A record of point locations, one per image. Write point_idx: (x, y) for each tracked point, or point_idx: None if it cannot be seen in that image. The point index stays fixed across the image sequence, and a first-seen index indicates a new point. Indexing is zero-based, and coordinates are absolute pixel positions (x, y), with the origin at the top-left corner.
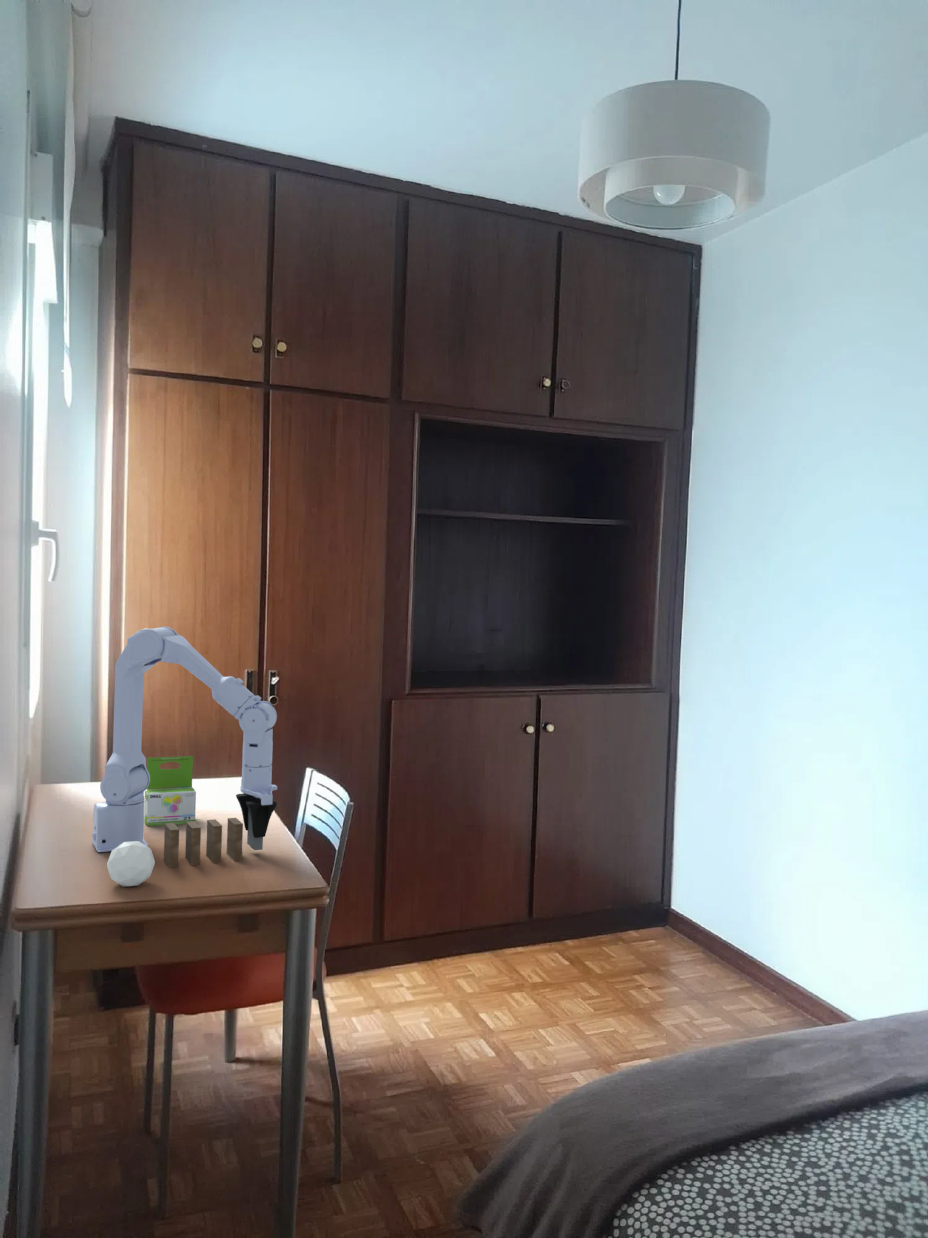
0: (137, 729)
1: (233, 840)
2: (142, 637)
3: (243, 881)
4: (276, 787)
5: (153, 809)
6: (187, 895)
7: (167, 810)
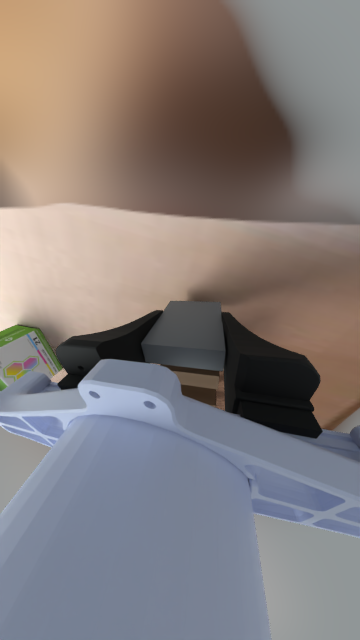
0: None
1: None
2: None
3: (331, 358)
4: (172, 397)
5: None
6: (329, 416)
7: (36, 366)
